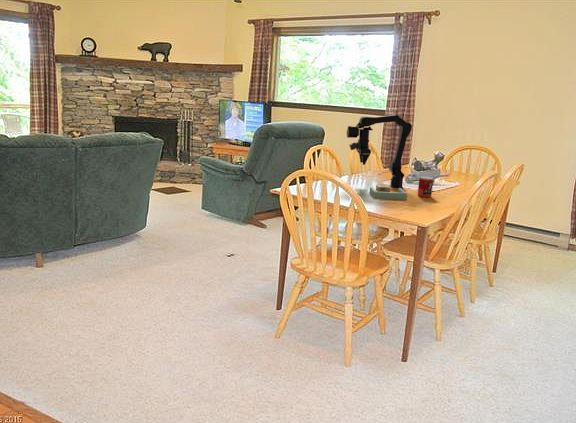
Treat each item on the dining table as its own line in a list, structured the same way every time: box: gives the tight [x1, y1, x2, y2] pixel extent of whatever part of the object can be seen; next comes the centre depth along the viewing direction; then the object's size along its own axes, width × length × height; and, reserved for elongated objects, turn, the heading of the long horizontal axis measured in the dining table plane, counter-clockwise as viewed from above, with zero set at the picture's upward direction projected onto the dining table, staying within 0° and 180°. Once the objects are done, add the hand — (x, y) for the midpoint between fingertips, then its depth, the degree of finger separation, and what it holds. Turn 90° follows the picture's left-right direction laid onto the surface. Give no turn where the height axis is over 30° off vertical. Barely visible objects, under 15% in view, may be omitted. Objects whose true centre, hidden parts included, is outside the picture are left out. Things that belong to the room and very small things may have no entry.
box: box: [369, 186, 408, 201], centre depth 296 cm, size 18×14×4 cm
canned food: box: [417, 175, 434, 199], centre depth 300 cm, size 8×8×11 cm
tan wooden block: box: [375, 184, 391, 192], centre depth 309 cm, size 7×7×4 cm
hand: (362, 163), depth 321 cm, fingers open, 9 cm apart
